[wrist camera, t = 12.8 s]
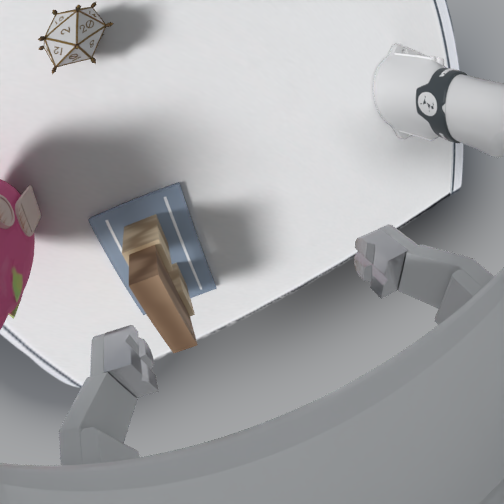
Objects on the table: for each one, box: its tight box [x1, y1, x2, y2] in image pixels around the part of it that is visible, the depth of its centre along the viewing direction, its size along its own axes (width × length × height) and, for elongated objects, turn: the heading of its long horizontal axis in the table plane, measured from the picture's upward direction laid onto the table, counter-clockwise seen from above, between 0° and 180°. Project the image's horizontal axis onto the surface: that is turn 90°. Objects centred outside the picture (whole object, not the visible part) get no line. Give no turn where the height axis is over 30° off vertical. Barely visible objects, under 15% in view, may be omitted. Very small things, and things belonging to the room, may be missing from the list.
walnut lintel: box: [129, 245, 197, 353], centre depth 34 cm, size 4×13×6 cm, turn 11°
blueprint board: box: [89, 182, 216, 315], centre depth 42 cm, size 14×20×1 cm
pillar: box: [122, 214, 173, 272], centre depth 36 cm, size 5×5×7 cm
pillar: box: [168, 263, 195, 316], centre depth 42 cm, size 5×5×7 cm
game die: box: [38, 2, 114, 74], centre depth 19 cm, size 9×8×10 cm
